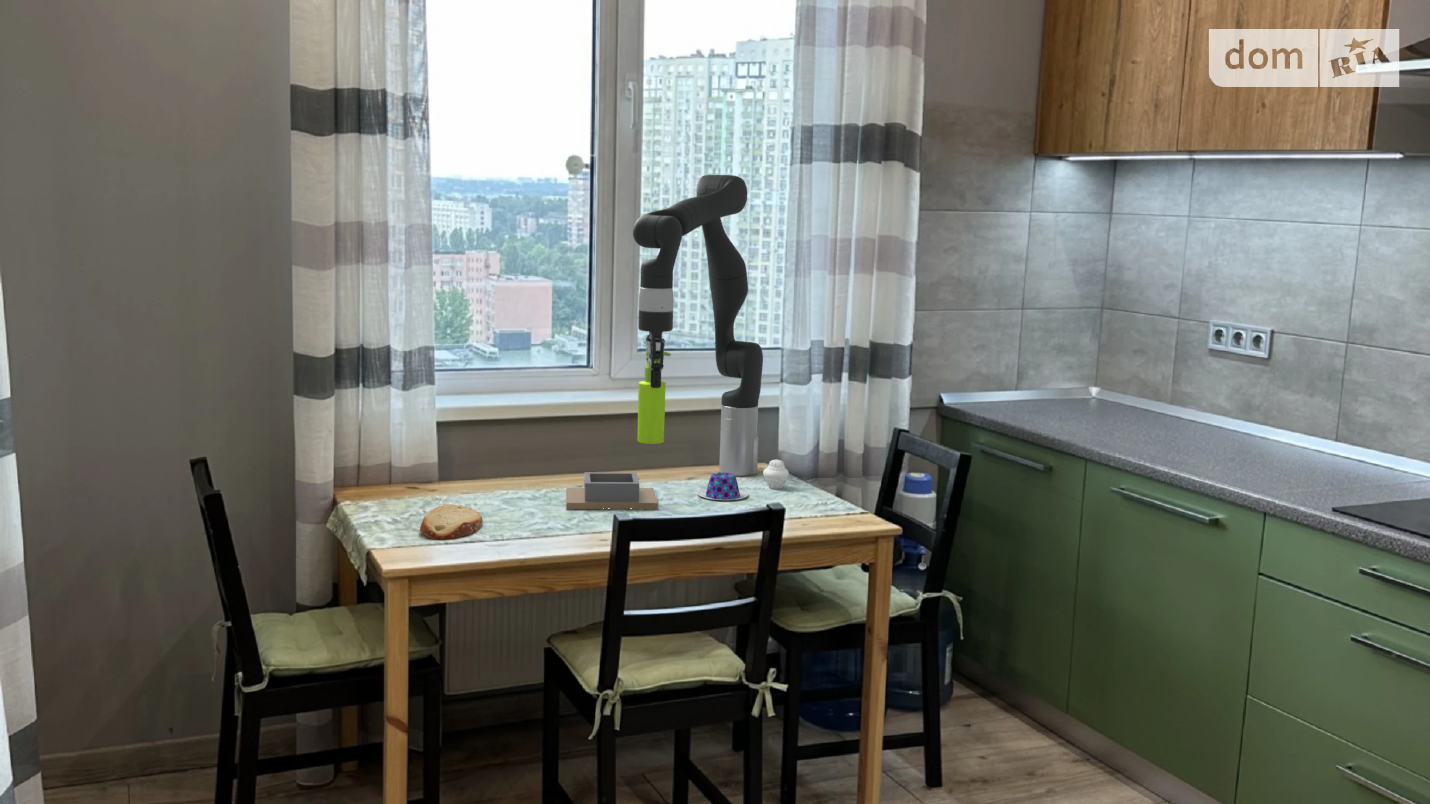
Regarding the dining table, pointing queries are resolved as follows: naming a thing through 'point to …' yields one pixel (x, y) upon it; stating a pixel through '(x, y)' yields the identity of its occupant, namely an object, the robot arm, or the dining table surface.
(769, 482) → the white lidded jar
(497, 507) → the dining table surface
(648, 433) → the soap dispenser
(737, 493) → the pudding
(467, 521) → the bread slice
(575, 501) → the soap caddy
